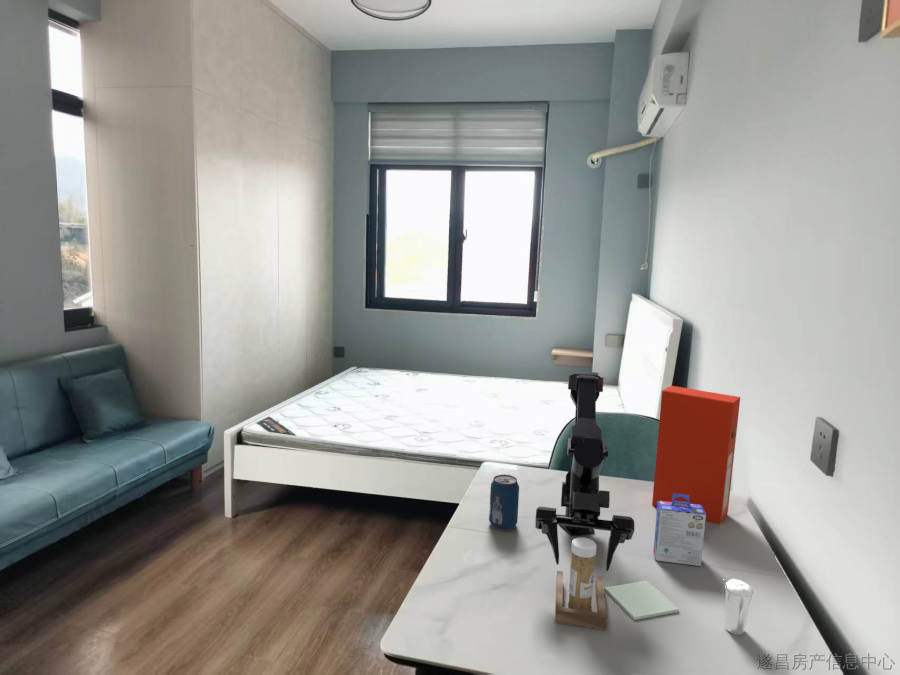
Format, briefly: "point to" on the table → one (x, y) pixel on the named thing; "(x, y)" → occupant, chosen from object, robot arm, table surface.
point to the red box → (696, 449)
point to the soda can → (504, 502)
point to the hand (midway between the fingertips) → (582, 567)
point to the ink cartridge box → (679, 531)
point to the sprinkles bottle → (581, 574)
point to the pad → (641, 600)
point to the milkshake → (737, 605)
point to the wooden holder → (580, 616)
